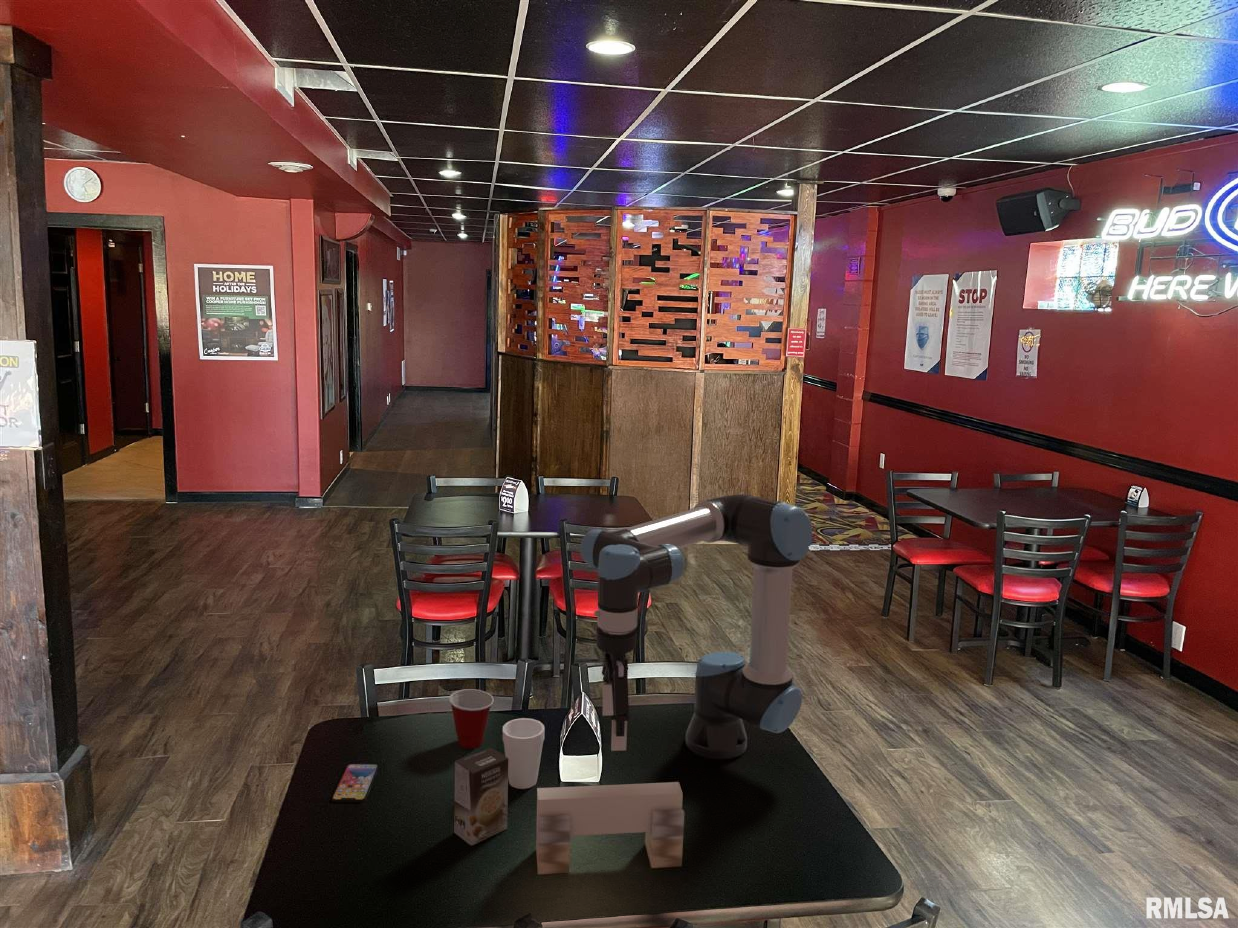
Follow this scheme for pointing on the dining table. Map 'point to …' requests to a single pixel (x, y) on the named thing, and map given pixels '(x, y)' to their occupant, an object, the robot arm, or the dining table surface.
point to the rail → (609, 806)
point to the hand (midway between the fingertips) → (613, 731)
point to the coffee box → (481, 795)
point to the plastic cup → (470, 715)
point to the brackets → (659, 843)
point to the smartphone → (355, 783)
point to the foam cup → (523, 751)
